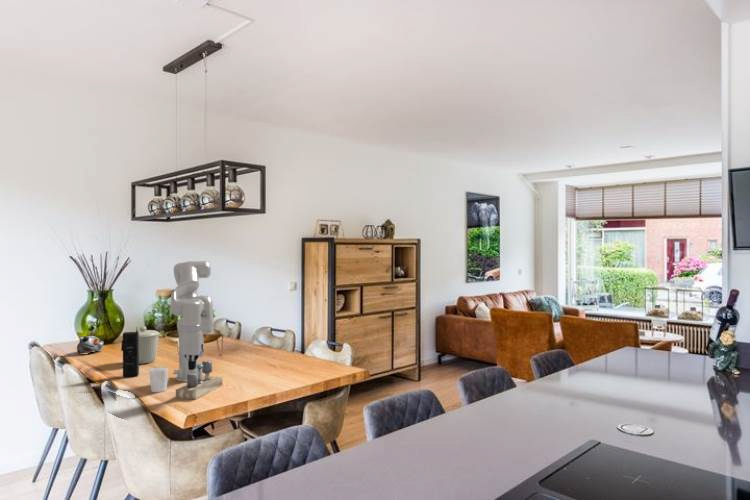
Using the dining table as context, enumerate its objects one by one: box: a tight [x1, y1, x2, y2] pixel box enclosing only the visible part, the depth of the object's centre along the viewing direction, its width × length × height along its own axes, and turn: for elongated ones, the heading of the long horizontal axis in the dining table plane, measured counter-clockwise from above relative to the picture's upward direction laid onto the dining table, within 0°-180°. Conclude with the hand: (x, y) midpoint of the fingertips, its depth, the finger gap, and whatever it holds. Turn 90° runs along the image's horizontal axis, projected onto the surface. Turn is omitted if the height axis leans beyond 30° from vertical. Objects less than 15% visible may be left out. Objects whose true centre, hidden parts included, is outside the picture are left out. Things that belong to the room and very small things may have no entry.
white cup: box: [149, 366, 169, 393], centre depth 226 cm, size 8×8×10 cm
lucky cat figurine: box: [76, 335, 104, 354], centre depth 309 cm, size 15×12×14 cm
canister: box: [133, 325, 161, 365], centre depth 283 cm, size 18×18×21 cm
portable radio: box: [120, 327, 140, 378], centre depth 252 cm, size 8×6×25 cm
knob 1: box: [186, 373, 198, 388], centre depth 218 cm, size 4×4×10 cm
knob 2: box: [201, 359, 213, 380], centre depth 229 cm, size 4×4×10 cm
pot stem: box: [197, 363, 203, 384], centre depth 223 cm, size 3×3×8 cm
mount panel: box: [175, 375, 223, 400], centre depth 223 cm, size 10×22×4 cm, turn 168°
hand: (192, 369), depth 218 cm, fingers closed
